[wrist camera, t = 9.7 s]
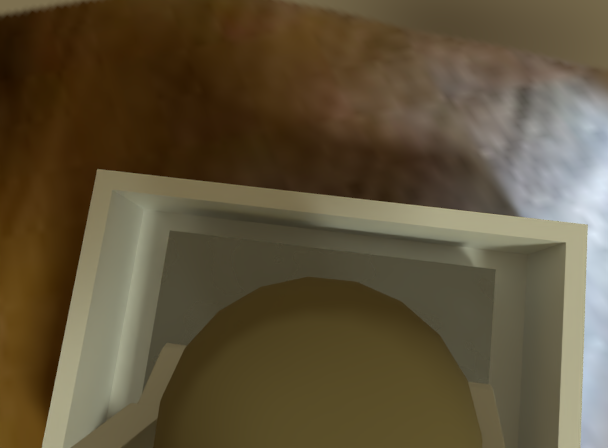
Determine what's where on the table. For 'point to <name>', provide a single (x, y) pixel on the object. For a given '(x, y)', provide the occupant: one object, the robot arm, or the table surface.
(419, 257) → the tote
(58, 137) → the table surface
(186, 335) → the tin box
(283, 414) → the cork
